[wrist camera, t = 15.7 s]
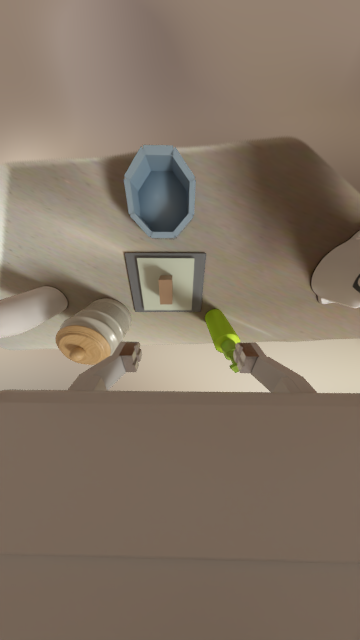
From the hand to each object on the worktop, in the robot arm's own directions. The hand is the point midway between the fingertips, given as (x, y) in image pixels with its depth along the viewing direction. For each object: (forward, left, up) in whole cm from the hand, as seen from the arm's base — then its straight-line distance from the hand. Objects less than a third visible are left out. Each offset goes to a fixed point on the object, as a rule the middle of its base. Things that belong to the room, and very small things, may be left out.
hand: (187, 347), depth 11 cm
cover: (+4, +2, -28) cm, 28 cm away
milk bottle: (+37, +6, -29) cm, 47 cm away
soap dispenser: (-11, +12, -29) cm, 33 cm away
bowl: (+4, -15, -28) cm, 32 cm away
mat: (+4, +2, -28) cm, 29 cm away
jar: (+22, +12, -29) cm, 38 cm away
